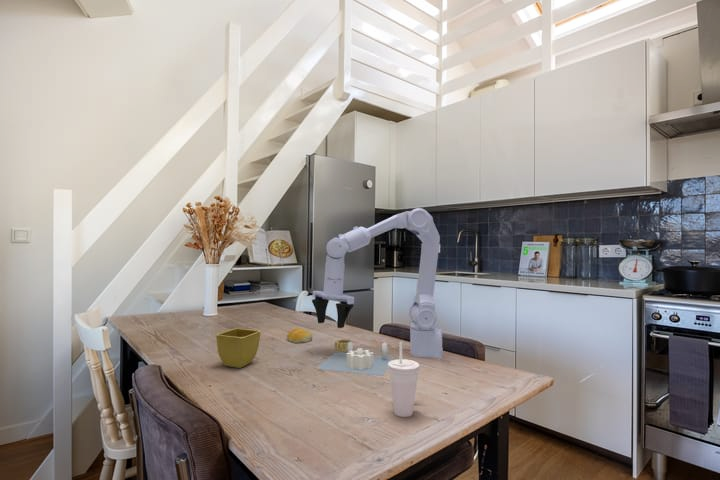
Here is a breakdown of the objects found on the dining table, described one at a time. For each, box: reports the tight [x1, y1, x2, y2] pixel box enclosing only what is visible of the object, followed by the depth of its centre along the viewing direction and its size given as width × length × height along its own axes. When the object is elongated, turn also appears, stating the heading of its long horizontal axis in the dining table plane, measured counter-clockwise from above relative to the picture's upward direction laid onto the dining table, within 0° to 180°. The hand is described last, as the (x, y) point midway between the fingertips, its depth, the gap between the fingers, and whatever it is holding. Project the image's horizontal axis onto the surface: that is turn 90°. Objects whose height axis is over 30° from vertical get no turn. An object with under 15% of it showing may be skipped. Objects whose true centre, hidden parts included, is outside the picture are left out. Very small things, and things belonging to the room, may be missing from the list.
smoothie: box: [387, 341, 421, 418], centre depth 74 cm, size 6×6×14 cm
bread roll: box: [286, 327, 313, 344], centre depth 131 cm, size 8×9×4 cm
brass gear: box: [334, 338, 354, 352], centre depth 116 cm, size 6×6×3 cm
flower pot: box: [215, 327, 261, 369], centre depth 104 cm, size 9×9×9 cm
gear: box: [346, 349, 374, 370], centre depth 99 cm, size 7×7×3 cm
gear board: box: [315, 341, 396, 377], centre depth 102 cm, size 18×16×6 cm
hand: (330, 325), depth 110 cm, fingers open, 7 cm apart
